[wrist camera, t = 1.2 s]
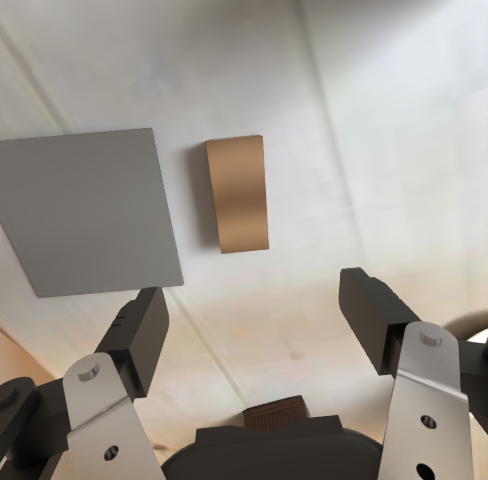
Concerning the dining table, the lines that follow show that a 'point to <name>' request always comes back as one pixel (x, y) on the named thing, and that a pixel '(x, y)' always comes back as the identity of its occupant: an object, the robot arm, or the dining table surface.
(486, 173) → the dining table surface
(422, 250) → the dining table surface
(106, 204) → the rubber mat
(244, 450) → the robot arm
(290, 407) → the manual coffee grinder
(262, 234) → the walnut block
